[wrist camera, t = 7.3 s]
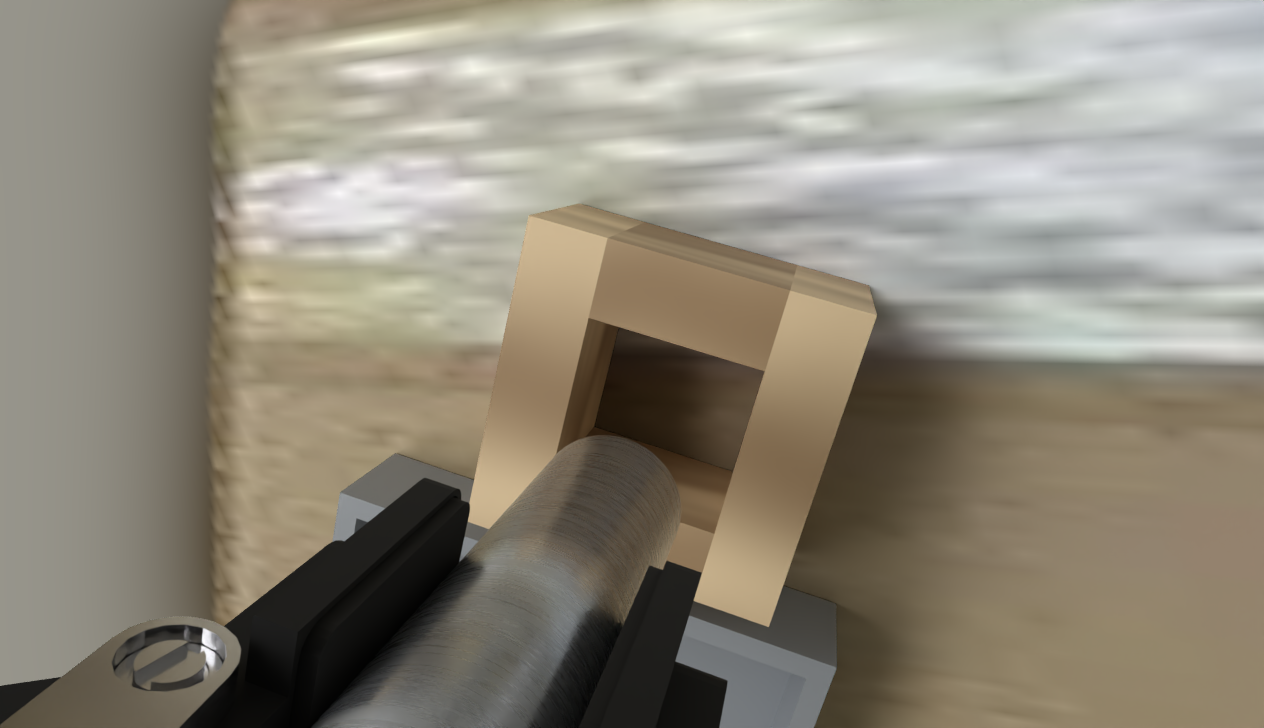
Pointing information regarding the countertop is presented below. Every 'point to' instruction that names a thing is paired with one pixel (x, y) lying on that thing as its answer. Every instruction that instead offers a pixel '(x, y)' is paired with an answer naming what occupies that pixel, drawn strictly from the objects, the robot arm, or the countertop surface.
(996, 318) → the countertop surface
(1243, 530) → the countertop surface
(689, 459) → the block
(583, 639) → the cylinder
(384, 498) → the tray
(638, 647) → the robot arm
